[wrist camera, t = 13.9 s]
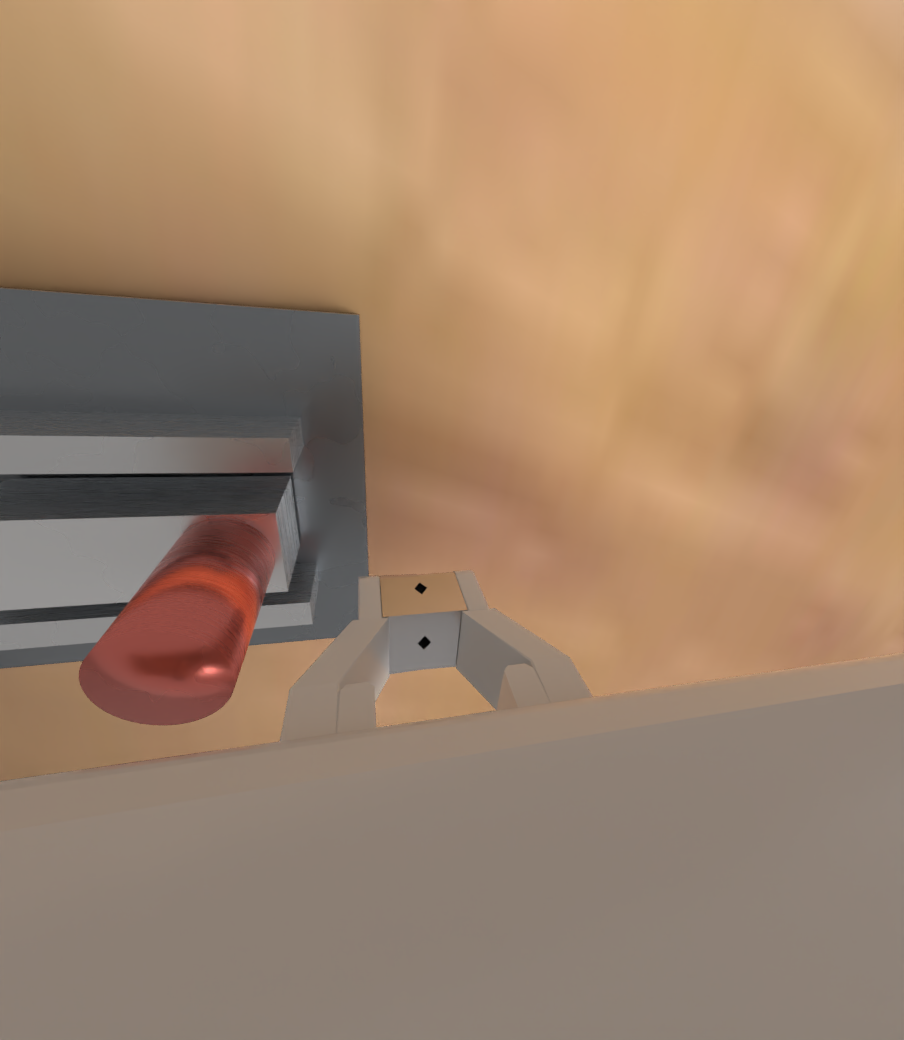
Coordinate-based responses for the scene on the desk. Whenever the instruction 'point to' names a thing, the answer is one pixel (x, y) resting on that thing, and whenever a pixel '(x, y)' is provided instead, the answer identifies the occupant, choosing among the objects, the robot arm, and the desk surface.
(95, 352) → the press
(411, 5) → the desk surface
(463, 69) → the desk surface
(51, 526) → the ram
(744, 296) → the desk surface
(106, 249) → the desk surface
